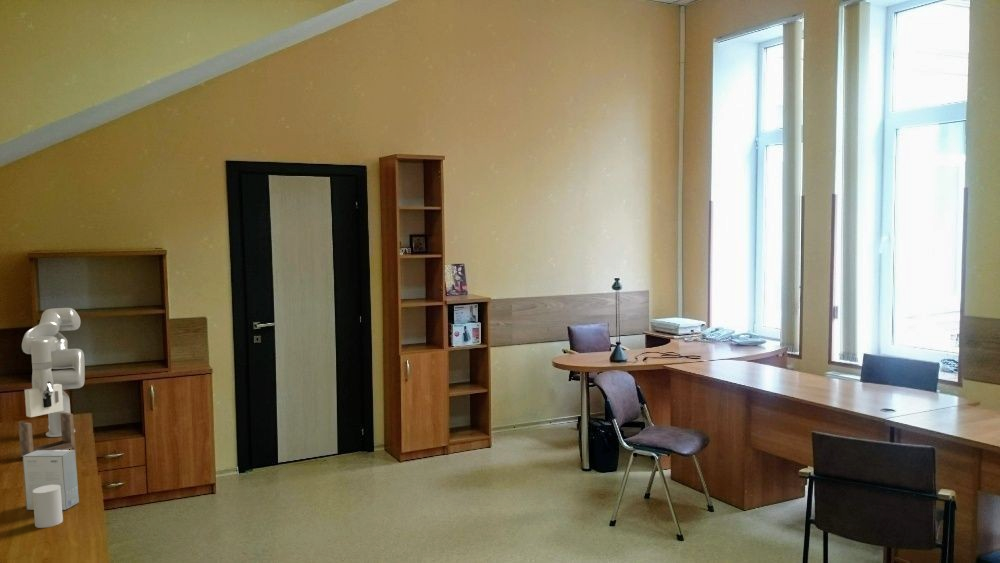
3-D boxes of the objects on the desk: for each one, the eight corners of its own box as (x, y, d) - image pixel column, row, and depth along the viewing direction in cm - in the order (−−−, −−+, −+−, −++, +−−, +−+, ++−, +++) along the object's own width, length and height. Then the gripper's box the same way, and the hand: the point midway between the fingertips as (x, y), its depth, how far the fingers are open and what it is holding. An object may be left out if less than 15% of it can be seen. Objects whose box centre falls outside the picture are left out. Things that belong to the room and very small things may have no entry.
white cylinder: (42, 519, 257) (40, 485, 257) (67, 517, 258) (65, 484, 257) (30, 528, 249) (27, 493, 248) (55, 527, 250) (52, 492, 249)
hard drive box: (80, 502, 272) (76, 449, 271) (65, 510, 265) (62, 456, 263) (40, 502, 274) (36, 449, 272) (25, 510, 266) (21, 455, 265)
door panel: (26, 416, 331) (24, 389, 330) (58, 409, 343) (57, 383, 342) (31, 417, 328) (29, 390, 328) (63, 410, 340) (62, 384, 339)
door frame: (21, 457, 331) (18, 422, 330) (65, 445, 347) (63, 412, 346) (30, 460, 326) (27, 424, 325) (75, 448, 343) (73, 414, 342)
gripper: (23, 366, 335) (26, 406, 337) (43, 369, 327) (45, 410, 328) (41, 363, 342) (44, 402, 343) (60, 366, 333) (63, 406, 334)
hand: (44, 406), depth 335 cm, fingers closed on door panel, 4 cm apart
